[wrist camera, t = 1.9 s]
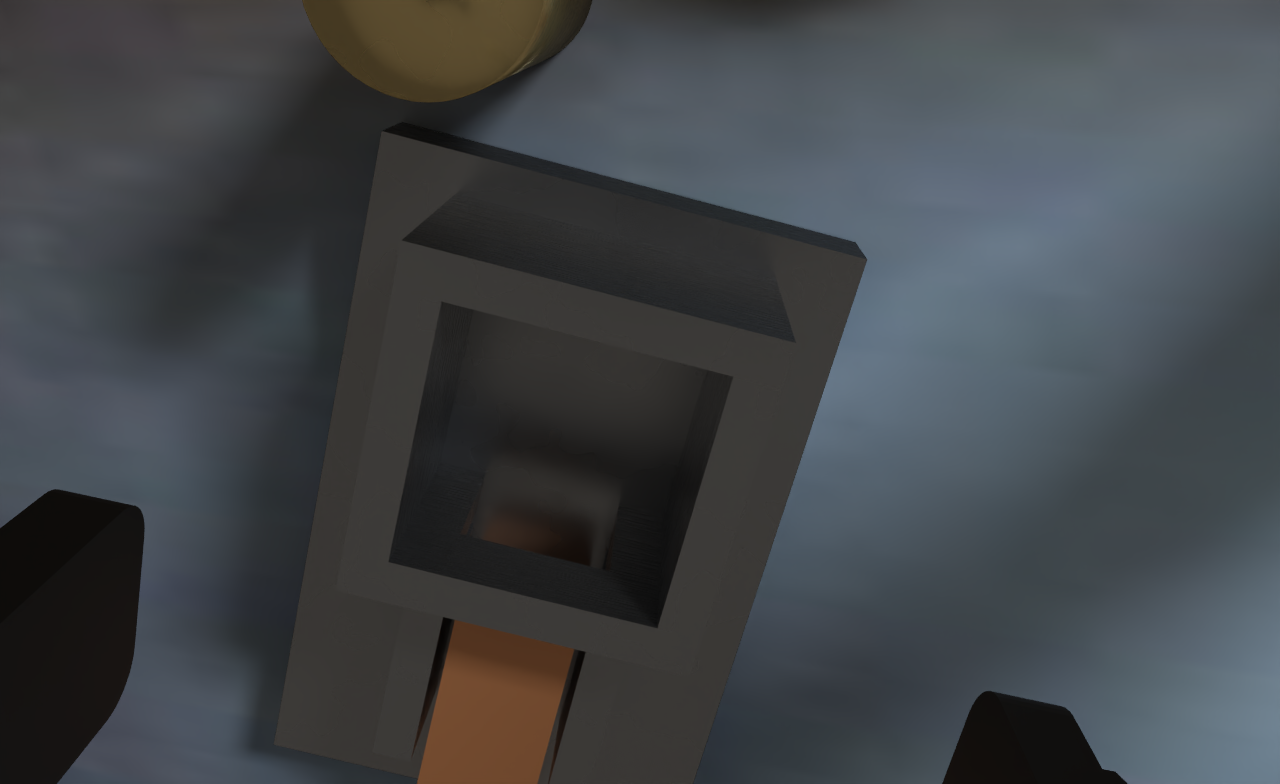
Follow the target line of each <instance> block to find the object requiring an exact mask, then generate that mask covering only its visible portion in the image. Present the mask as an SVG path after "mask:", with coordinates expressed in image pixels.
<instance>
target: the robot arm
mask: <svg viewBox="0 0 1280 784" xmlns="http://www.w3.org/2000/svg"><path fill="white" fill-rule="evenodd" d="M144 529H145V528H144V518H143V514H142V512H141V510H140V509H139V508H138V507H136V506H133V505H129V504H124V503H119V502H115V501H110V500H105V499H101V498H96V497H91V496H87V495H82V494H77V493H73V492H68V491H63V490H58V489H54V490H51V491H49V492H47V493H45V494H44V495H43V496H41V497H40V498H39V499H37V500H36V501H35V502H34V503H32V504H31V505H30V506H28V507H27V508H26V509H25V510H23V511H22V512H21V513H19V514H18V515H17V516H16V517H14V518H13V519H12V520H10V521H9V522H8V523H7V524H5V525H4V526H3V527H1V528H0V784H57V783H58V782H59V780H60V779H61V778H62V777H63V775H64V774H65V773H66V772H67V770H68V769H69V768H70V767H71V765H72V764H73V763H74V762H75V760H76V759H77V758H78V757H79V755H80V754H81V753H82V752H83V750H84V749H85V748H86V746H87V745H88V744H89V743H90V741H91V740H92V739H93V738H94V736H95V735H96V734H97V733H98V731H99V730H100V729H101V728H102V726H103V725H104V724H105V723H106V721H107V720H108V719H109V717H110V716H111V714H112V712H113V711H114V709H115V707H116V705H117V703H118V701H119V699H120V697H121V695H122V693H123V690H124V688H125V685H126V682H127V679H128V676H129V673H130V669H131V665H132V661H133V656H134V648H135V637H136V625H137V614H138V602H139V591H140V579H141V567H142V556H143V544H144ZM942 784H1127V783H1126V782H1125V781H1124V780H1123V779H1122V778H1121V777H1120V776H1119V775H1118V774H1117V773H1116V772H1114V771H1109V770H1104V769H1102V768H1101V766H1100V764H1099V762H1098V760H1097V759H1096V757H1095V755H1094V753H1093V751H1092V750H1091V748H1090V746H1089V744H1088V742H1087V740H1086V739H1085V737H1084V735H1083V733H1082V731H1081V730H1080V728H1079V726H1078V724H1077V722H1076V721H1075V719H1074V717H1073V715H1072V714H1071V712H1070V711H1069V710H1067V709H1066V708H1064V707H1062V706H1057V705H1053V704H1048V703H1043V702H1039V701H1034V700H1029V699H1025V698H1020V697H1015V696H1011V695H1006V694H1001V693H997V692H992V691H986V692H984V693H982V694H981V695H980V696H979V697H978V698H977V699H976V700H975V702H974V704H973V706H972V708H971V710H970V712H969V715H968V717H967V720H966V722H965V725H964V728H963V730H962V733H961V736H960V738H959V741H958V744H957V746H956V749H955V752H954V754H953V757H952V759H951V762H950V765H949V767H948V770H947V773H946V775H945V778H944V781H943V783H942Z"/></svg>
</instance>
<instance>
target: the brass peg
mask: <svg viewBox="0 0 1280 784" xmlns="http://www.w3.org/2000/svg"><path fill="white" fill-rule="evenodd" d="M302 1H303V5H304V8H305V11H306V13H307V16H308V18H309V20H310V23H311V25H312V27H313V29H314V30H315V32H316V34H317V36H318V37H319V39H320V41H321V42H322V44H323V45H324V46H325V48H326V49H327V50H328V52H329V53H330V54H331V55H332V56H333V58H334V59H335V60H336V61H337V62H338V63H339V64H340V65H341V66H342V67H343V68H344V69H346V70H347V71H348V72H349V73H350V74H351V75H353V76H354V77H355V78H357V79H358V80H360V81H361V82H363V83H364V84H366V85H367V86H369V87H371V88H373V89H375V90H377V91H379V92H382V93H384V94H387V95H390V96H393V97H396V98H399V99H404V100H409V101H414V102H443V101H449V100H454V99H458V98H462V97H465V96H467V95H470V94H473V93H476V92H478V91H480V90H482V89H484V88H486V87H488V86H490V85H493V84H495V83H497V82H499V81H501V80H503V79H505V78H508V77H510V76H512V75H514V74H516V73H518V72H520V71H523V70H525V69H527V68H529V67H531V66H533V65H535V64H537V63H540V62H542V61H544V60H546V59H548V58H550V57H552V56H554V55H555V54H557V53H558V52H560V51H561V50H562V49H564V48H565V47H566V46H567V45H568V44H569V43H570V42H571V41H572V40H573V39H574V38H575V36H576V35H577V34H578V33H579V31H580V29H581V28H582V26H583V24H584V23H585V20H586V18H587V16H588V13H589V10H590V7H591V4H592V0H302Z"/></svg>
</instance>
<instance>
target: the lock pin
mask: <svg viewBox="0 0 1280 784" xmlns="http://www.w3.org/2000/svg"><path fill="white" fill-rule="evenodd" d="M573 652H574V649H572V648H568V647H564V646H560V645H556V644H552V643H548V642H544V641H540V640H535V639H531V638H527V637H523V636H519V635H515V634H511V633H507V632H503V631H499V630H495V629H490V628H486V627H482V626H478V625H474V624H470V623H466V622H462V621H458V620H455V621H454V626H453V630H452V634H451V639H450V643H449V647H448V652H447V656H446V660H445V665H444V669H443V673H442V678H441V682H440V686H439V691H438V695H437V699H436V704H435V708H434V712H433V717H432V721H431V725H430V730H429V734H428V738H427V743H426V747H425V751H424V756H423V760H422V764H421V769H420V773H419V777H418V781H417V784H537V783H538V779H539V776H540V772H541V768H542V765H543V761H544V757H545V754H546V750H547V747H548V743H549V739H550V736H551V732H552V728H553V725H554V721H555V718H556V714H557V710H558V707H559V703H560V699H561V696H562V692H563V688H564V685H565V681H566V678H567V674H568V670H569V667H570V663H571V659H572V656H573Z"/></svg>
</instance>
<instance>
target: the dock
mask: <svg viewBox="0 0 1280 784" xmlns="http://www.w3.org/2000/svg"><path fill="white" fill-rule="evenodd" d="M866 262H867V258H866V257H865V255H864V254H863V253H862V251H861V250H860V248H859V247H858V245H857V244H856V242H852V241H848V240H845V239H841V238H837V237H833V236H830V235H826V234H822V233H818V232H815V231H811V230H807V229H803V228H799V227H796V226H792V225H788V224H784V223H781V222H777V221H773V220H769V219H765V218H762V217H758V216H754V215H750V214H747V213H743V212H739V211H735V210H732V209H728V208H724V207H720V206H716V205H713V204H709V203H705V202H701V201H698V200H694V199H690V198H686V197H682V196H679V195H675V194H671V193H667V192H664V191H660V190H656V189H652V188H648V187H645V186H641V185H637V184H633V183H630V182H626V181H622V180H618V179H615V178H611V177H607V176H603V175H599V174H596V173H592V172H588V171H584V170H581V169H577V168H573V167H569V166H565V165H562V164H558V163H554V162H550V161H547V160H543V159H539V158H535V157H532V156H528V155H524V154H520V153H516V152H513V151H509V150H505V149H501V148H498V147H494V146H490V145H486V144H482V143H479V142H475V141H471V140H467V139H464V138H460V137H456V136H452V135H448V134H445V133H441V132H437V131H433V130H430V129H426V128H422V127H418V126H415V125H411V124H407V123H403V122H401V123H399V124H396V125H394V126H392V127H390V128H387V129H385V130H383V131H382V132H381V138H380V143H379V149H378V155H377V161H376V166H375V172H374V178H373V183H372V189H371V195H370V200H369V206H368V212H367V217H366V223H365V229H364V234H363V240H362V246H361V251H360V257H359V263H358V269H357V274H356V280H355V286H354V291H353V297H352V303H351V308H350V314H349V320H348V325H347V331H346V337H345V342H344V348H343V354H342V359H341V365H340V371H339V377H338V382H337V388H336V394H335V399H334V405H333V411H332V416H331V422H330V428H329V433H328V439H327V445H326V450H325V456H324V462H323V467H322V473H321V479H320V484H319V490H318V496H317V502H316V507H315V513H314V519H313V524H312V530H311V536H310V541H309V547H308V553H307V558H306V564H305V570H304V575H303V581H302V587H301V592H300V598H299V604H298V610H297V615H296V621H295V627H294V632H293V638H292V644H291V649H290V655H289V661H288V666H287V672H286V678H285V683H284V689H283V695H282V700H281V706H280V712H279V718H278V723H277V729H276V735H275V740H274V745H278V746H282V747H286V748H290V749H294V750H299V751H303V752H307V753H311V754H315V755H320V756H324V757H328V758H332V759H337V760H341V761H345V762H349V763H353V764H358V765H362V766H366V767H370V768H374V769H379V770H383V771H387V772H391V773H395V774H400V775H404V776H408V777H412V778H416V779H418V777H419V773H420V769H421V764H422V760H423V756H424V751H425V747H426V743H427V738H428V734H429V730H430V725H431V721H432V717H433V712H434V708H435V704H436V699H437V695H438V691H439V686H440V682H441V678H442V673H443V669H444V665H445V660H446V656H447V652H448V647H449V643H450V639H451V634H452V630H453V626H454V621H455V620H458V621H462V622H466V623H470V624H474V625H478V626H482V627H486V628H490V629H495V630H499V631H503V632H507V633H511V634H515V635H519V636H523V637H527V638H531V639H535V640H540V641H544V642H548V643H552V644H556V645H560V646H564V647H568V648H572V649H574V652H573V656H572V659H571V663H570V667H569V670H568V674H567V678H566V681H565V685H564V688H563V692H562V696H561V699H560V703H559V707H558V710H557V714H556V718H555V721H554V725H553V728H552V732H551V736H550V739H549V743H548V747H547V750H546V754H545V757H544V761H543V765H542V768H541V772H540V776H539V779H538V783H537V784H693V782H694V779H695V776H696V773H697V770H698V767H699V764H700V761H701V758H702V755H703V752H704V749H705V746H706V743H707V740H708V737H709V734H710V731H711V728H712V725H713V722H714V719H715V716H716V713H717V710H718V707H719V704H720V701H721V698H722V695H723V692H724V689H725V686H726V683H727V680H728V677H729V674H730V671H731V668H732V665H733V662H734V659H735V656H736V653H737V650H738V647H739V644H740V641H741V638H742V635H743V632H744V628H745V625H746V622H747V619H748V616H749V613H750V610H751V607H752V604H753V601H754V598H755V595H756V592H757V589H758V586H759V583H760V580H761V577H762V574H763V571H764V568H765V565H766V562H767V559H768V556H769V553H770V550H771V547H772V544H773V541H774V538H775V535H776V532H777V529H778V526H779V523H780V520H781V517H782V514H783V511H784V508H785V505H786V502H787V499H788V496H789V493H790V490H791V487H792V484H793V481H794V478H795V475H796V472H797V469H798V466H799V463H800V460H801V457H802V454H803V451H804V448H805V445H806V442H807V439H808V436H809V433H810V430H811V427H812V424H813V421H814V418H815V415H816V412H817V409H818V406H819V403H820V400H821V397H822V394H823V391H824V388H825V385H826V382H827V379H828V376H829V373H830V370H831V367H832V364H833V361H834V358H835V355H836V352H837V349H838V346H839V343H840V340H841V337H842V334H843V331H844V328H845V325H846V322H847V319H848V316H849V313H850V310H851V307H852V304H853V301H854V298H855V295H856V292H857V289H858V286H859V283H860V280H861V277H862V274H863V271H864V268H865V265H866Z"/></svg>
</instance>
